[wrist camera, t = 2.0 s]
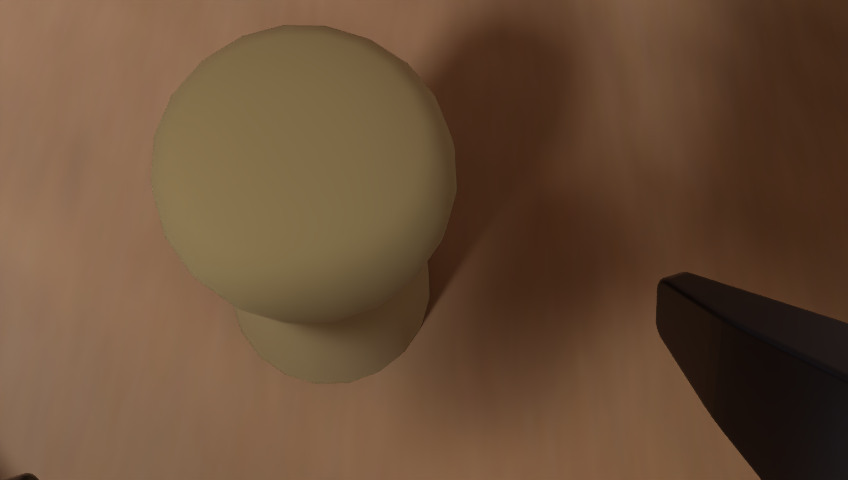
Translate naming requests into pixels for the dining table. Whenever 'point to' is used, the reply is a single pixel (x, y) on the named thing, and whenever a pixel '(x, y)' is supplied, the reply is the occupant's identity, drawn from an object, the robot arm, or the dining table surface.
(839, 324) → the robot arm
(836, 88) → the dining table surface
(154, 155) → the cork
